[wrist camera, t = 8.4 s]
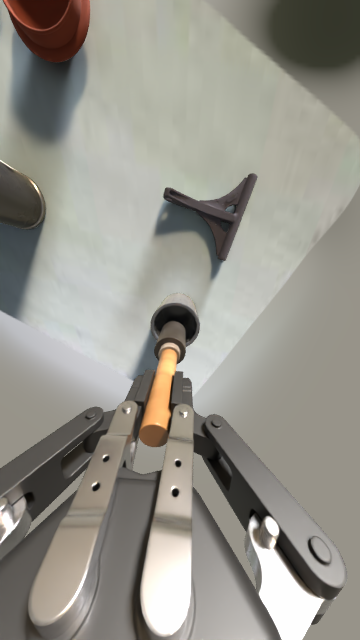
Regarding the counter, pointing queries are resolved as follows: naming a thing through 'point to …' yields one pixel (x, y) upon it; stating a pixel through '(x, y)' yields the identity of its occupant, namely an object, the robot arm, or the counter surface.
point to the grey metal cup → (177, 316)
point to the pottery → (51, 26)
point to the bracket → (218, 211)
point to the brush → (163, 385)
